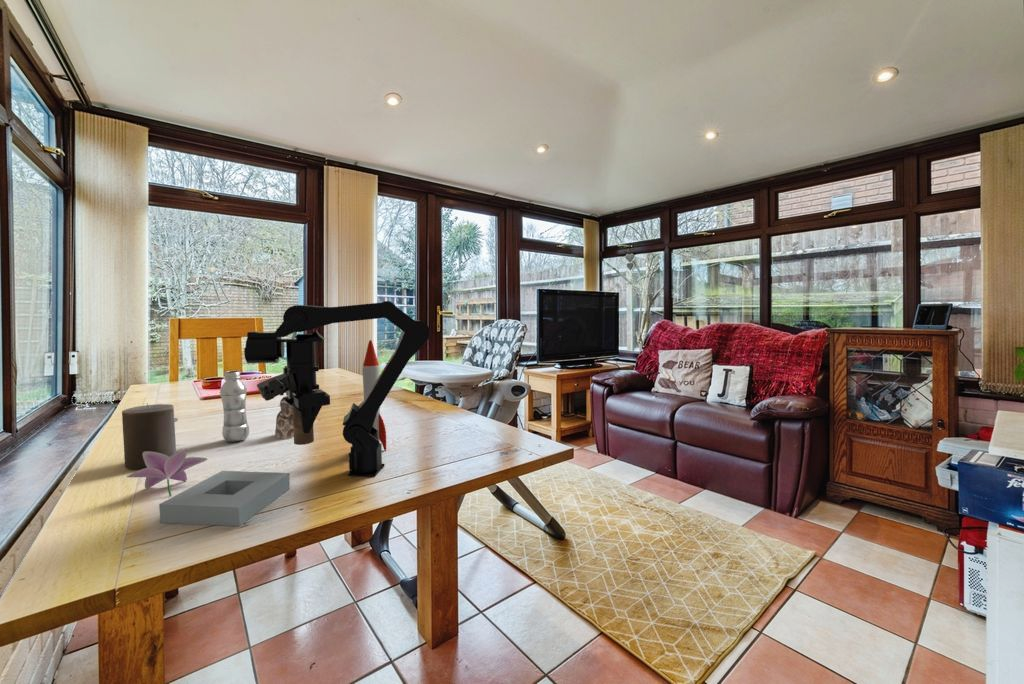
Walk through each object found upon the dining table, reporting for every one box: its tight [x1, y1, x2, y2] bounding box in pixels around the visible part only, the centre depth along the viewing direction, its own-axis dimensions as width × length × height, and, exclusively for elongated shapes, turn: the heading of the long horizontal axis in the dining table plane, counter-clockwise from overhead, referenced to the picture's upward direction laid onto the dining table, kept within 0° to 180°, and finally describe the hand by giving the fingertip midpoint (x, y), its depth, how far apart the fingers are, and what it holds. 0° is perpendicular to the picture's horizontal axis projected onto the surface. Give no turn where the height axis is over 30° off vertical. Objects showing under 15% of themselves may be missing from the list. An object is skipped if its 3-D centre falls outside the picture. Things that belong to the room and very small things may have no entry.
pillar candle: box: [121, 402, 177, 470], centre depth 103 cm, size 10×10×15 cm
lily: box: [126, 448, 208, 498], centre depth 87 cm, size 12×12×10 cm
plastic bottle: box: [219, 370, 250, 443], centre depth 119 cm, size 6×7×20 cm
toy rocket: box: [362, 339, 387, 451], centre depth 112 cm, size 6×6×30 cm
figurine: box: [274, 395, 294, 439], centre depth 124 cm, size 7×7×12 cm
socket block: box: [158, 470, 291, 527], centre depth 82 cm, size 15×15×4 cm
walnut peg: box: [293, 403, 315, 446], centre depth 93 cm, size 4×4×9 cm
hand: (303, 430), depth 93 cm, fingers closed on walnut peg, 4 cm apart
